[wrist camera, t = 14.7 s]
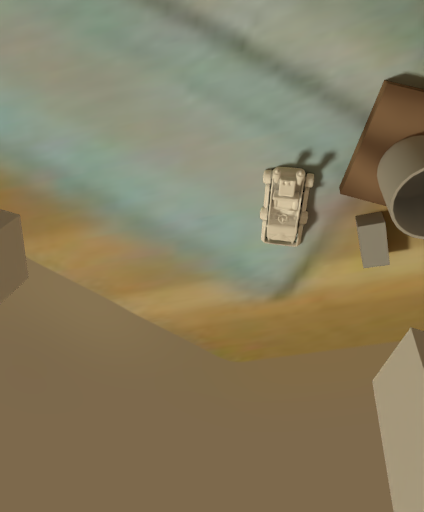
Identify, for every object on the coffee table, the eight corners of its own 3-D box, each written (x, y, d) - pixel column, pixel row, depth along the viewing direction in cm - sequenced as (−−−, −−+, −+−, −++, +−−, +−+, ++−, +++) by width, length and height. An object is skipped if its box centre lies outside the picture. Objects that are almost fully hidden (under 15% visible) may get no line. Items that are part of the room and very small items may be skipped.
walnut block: (384, 80, 38) (387, 83, 36) (504, 109, 37) (513, 113, 35) (339, 186, 45) (340, 193, 43) (439, 213, 44) (444, 221, 42)
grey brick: (355, 215, 46) (357, 226, 44) (381, 210, 45) (385, 222, 43) (361, 255, 49) (363, 268, 47) (385, 251, 48) (389, 264, 46)
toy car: (258, 240, 52) (254, 257, 48) (265, 155, 45) (261, 167, 41) (303, 245, 50) (302, 263, 47) (317, 159, 44) (317, 172, 40)
